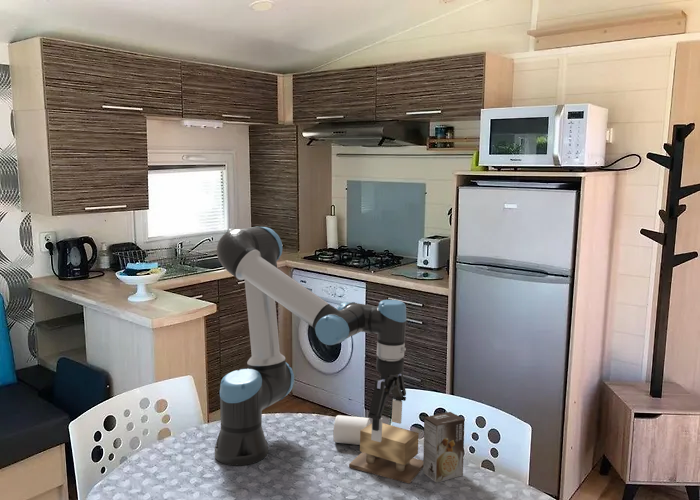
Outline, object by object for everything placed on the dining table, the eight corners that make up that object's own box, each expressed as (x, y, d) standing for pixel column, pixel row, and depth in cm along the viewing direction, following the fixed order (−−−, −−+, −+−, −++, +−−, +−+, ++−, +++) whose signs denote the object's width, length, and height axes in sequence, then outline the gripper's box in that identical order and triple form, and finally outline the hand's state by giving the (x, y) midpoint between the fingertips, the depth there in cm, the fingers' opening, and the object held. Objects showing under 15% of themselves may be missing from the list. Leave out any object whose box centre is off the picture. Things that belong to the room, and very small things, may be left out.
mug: (365, 450, 172) (366, 424, 171) (332, 446, 174) (333, 421, 173) (372, 433, 184) (373, 409, 183) (341, 430, 186) (341, 406, 185)
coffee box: (449, 465, 164) (451, 410, 162) (463, 476, 158) (465, 419, 156) (421, 472, 160) (423, 416, 158) (435, 483, 154) (437, 425, 152)
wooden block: (359, 451, 163) (360, 430, 162) (374, 440, 170) (375, 420, 169) (404, 465, 155) (405, 443, 155) (417, 453, 162) (418, 432, 161)
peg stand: (349, 467, 162) (349, 453, 161) (368, 449, 172) (368, 437, 172) (409, 483, 154) (410, 469, 153) (425, 464, 164) (426, 450, 164)
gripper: (384, 372, 147) (380, 452, 149) (419, 348, 169) (415, 418, 171) (357, 367, 150) (354, 445, 153) (395, 343, 172) (392, 412, 175)
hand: (386, 431), depth 162 cm, fingers open, 13 cm apart
